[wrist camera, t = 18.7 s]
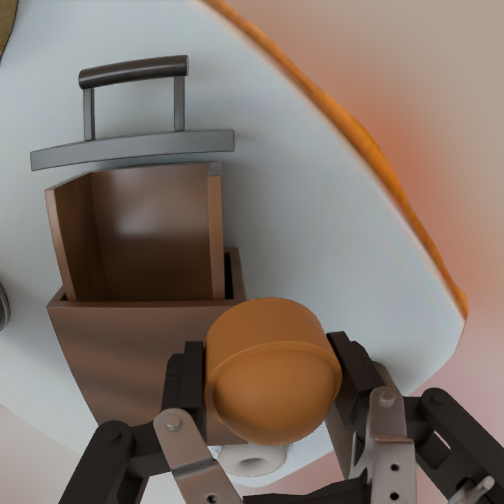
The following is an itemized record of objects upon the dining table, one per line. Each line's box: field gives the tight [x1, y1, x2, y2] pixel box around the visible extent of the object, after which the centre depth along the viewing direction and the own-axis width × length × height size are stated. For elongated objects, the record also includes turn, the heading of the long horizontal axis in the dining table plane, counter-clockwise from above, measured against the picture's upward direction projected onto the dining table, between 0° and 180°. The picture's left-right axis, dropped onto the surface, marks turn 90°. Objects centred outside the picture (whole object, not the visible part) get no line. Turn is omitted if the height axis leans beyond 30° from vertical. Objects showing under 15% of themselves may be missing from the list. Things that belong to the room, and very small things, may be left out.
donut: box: [218, 441, 287, 477], centre depth 38 cm, size 10×4×10 cm
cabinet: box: [46, 248, 248, 446], centre depth 25 cm, size 16×14×9 cm
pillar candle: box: [324, 361, 420, 480], centre depth 29 cm, size 10×10×15 cm
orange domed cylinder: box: [204, 297, 343, 446], centre depth 11 cm, size 5×5×5 cm
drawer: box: [30, 55, 234, 302], centre depth 20 cm, size 19×12×7 cm, turn 0°
